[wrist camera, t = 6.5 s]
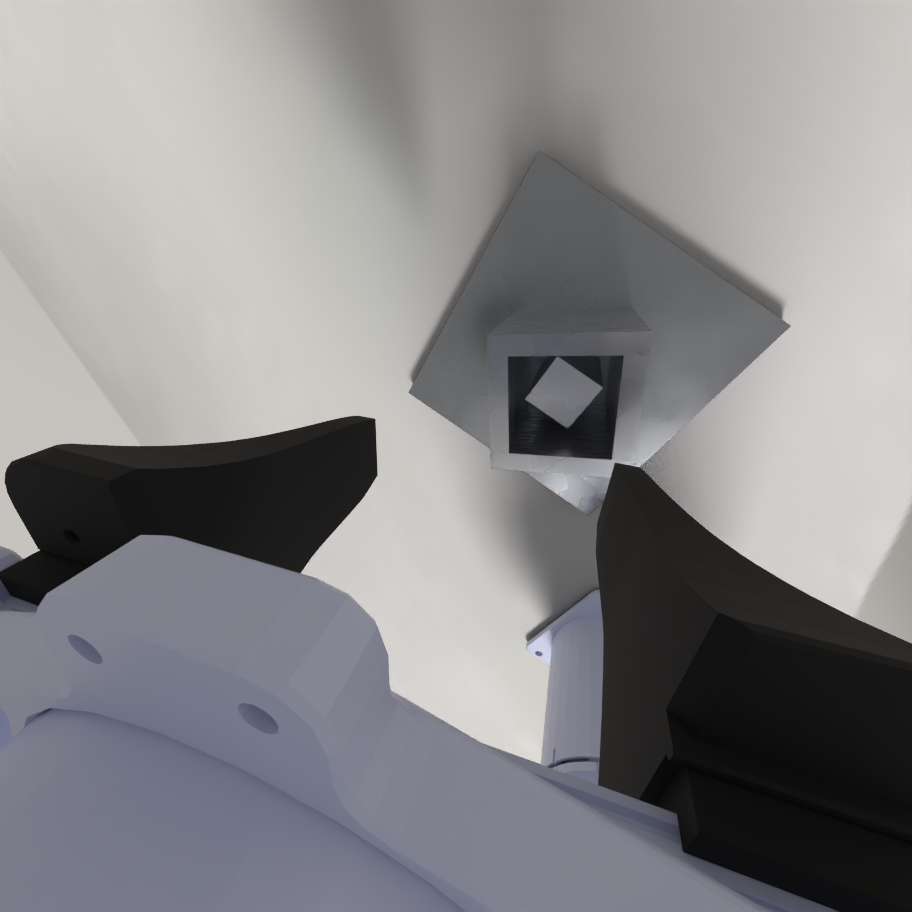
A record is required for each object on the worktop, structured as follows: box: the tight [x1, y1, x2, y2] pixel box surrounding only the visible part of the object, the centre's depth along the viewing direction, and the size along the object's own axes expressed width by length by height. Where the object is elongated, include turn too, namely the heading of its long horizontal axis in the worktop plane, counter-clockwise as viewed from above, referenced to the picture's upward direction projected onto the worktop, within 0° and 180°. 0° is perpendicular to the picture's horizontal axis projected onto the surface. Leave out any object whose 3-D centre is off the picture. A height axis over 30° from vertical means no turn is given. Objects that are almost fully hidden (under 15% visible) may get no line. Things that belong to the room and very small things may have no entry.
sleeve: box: [486, 308, 652, 478], centre depth 16 cm, size 5×5×6 cm
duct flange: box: [409, 150, 790, 515], centre depth 17 cm, size 12×12×5 cm
